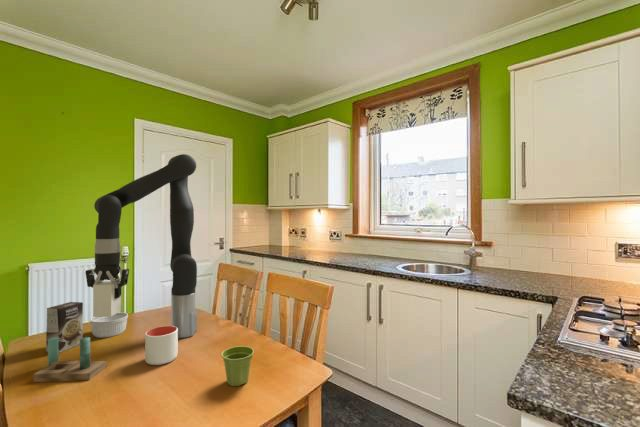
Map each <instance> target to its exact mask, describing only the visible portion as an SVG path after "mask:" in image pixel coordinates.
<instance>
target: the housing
mask: <svg viewBox="0 0 640 427" xmlns="http://www.w3.org/2000/svg"><path fill="white" fill-rule="evenodd" d="M92 289H93V290H92V291H93V292H92V298H93V299H92V302H93V303H92V318H93V317H109V316H113V315H115V314H117V313H119V312H122V295H121V296H120V297H119V298H117V299H115V287H114V284H113V283H112V282H111V281H110V280H107V281H106V280H104V281H103V282H102V283H99V284H95V285H93V288H92Z"/></svg>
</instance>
